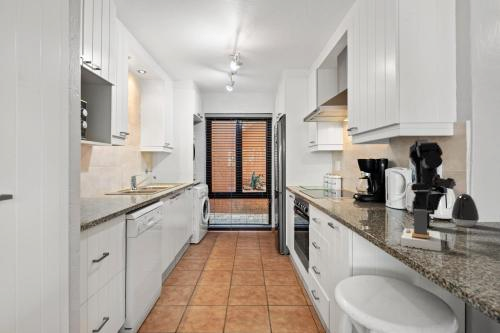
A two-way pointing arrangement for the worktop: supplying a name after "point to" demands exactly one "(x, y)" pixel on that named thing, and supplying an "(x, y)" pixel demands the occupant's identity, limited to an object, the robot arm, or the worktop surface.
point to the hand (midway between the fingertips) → (430, 209)
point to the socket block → (421, 240)
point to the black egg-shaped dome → (465, 211)
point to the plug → (420, 224)
